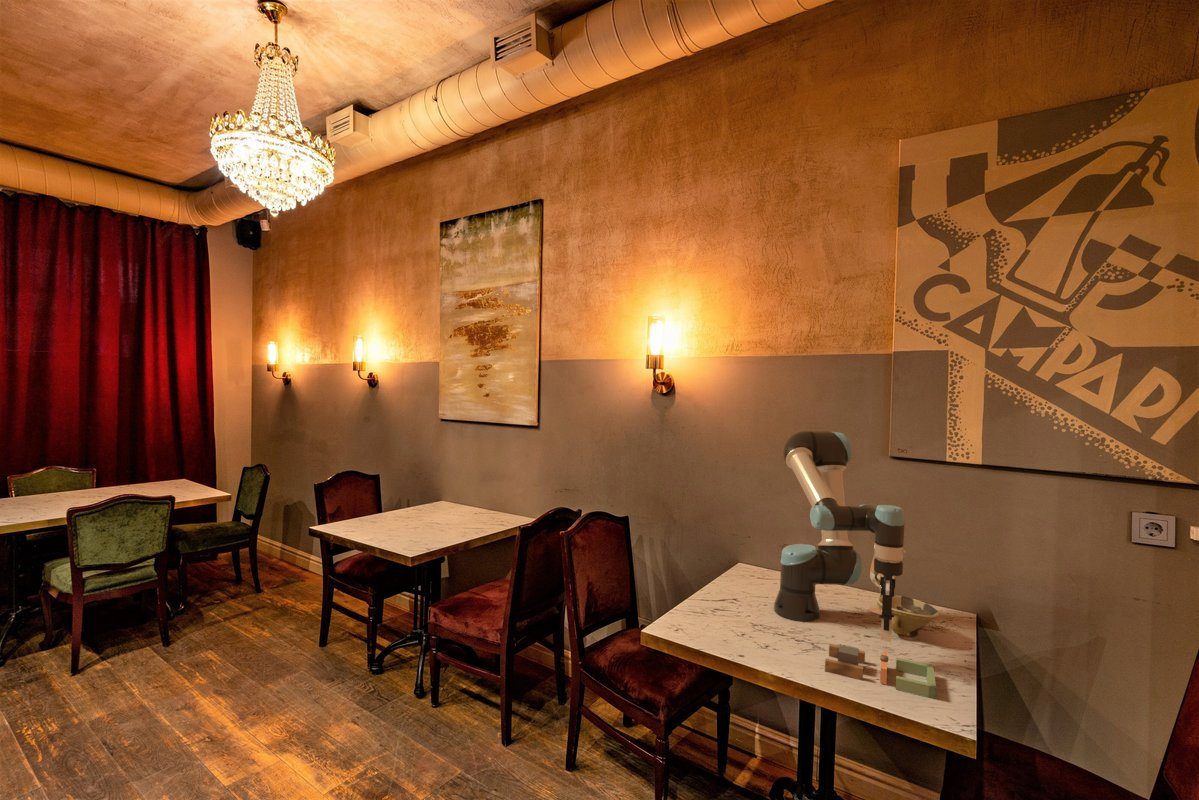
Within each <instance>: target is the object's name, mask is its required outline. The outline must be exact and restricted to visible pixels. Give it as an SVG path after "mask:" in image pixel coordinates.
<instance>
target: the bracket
mask: <svg viewBox="0 0 1199 800" xmlns="http://www.w3.org/2000/svg"><path fill="white" fill-rule="evenodd" d="M934 669H935V668H934V665H932V664H927V663H924V662H919V661H915V660H914V661H913V660H910V659H904V658H900V657H896V660H895V671H898V672H902V673H906V674H912V675H915V676H919V677H924V678H926V681H925V682H924V681H921V680H917V679H913V678H912V679H911V678H908V677H903V676H898V675H896V677H895V678H896V679H895V691H896V690H897V691H901V692H905V693H909V694H912V695H917V696H922V697H925V698H929V699H933V700H937V685H936V683H937V682H936V676H935V675H936V674H935V670H934Z"/></svg>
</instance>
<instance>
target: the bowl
mask: <svg viewBox="0 0 1199 800" xmlns="http://www.w3.org/2000/svg"><path fill="white" fill-rule="evenodd" d="M882 600H883V596H881V597H880V596H878V597H877V598H876V599H875V601H876V605H877V607H880V608H881V609H882ZM892 614H893V615H894V617H892V632H894V633H895V635H901V636H905V637H906V636H907V637H911V638H913V637H917V636H918V635H919V631H921V630H922V629H923V628H925V627H926V626H927V625H928V624H929V623H930V622H932V621H935V620H937V619H938V618H939V617H940V615H941V614H940V611H938V610H937V609H936V608H935V607H933V606H932V605H930V604H928V603H926V602H924V601H921V600H919V599H916V598H911V597H909V596H908V597H907V596H905V595H896V594H894V596H893V597H892Z"/></svg>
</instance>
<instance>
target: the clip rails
mask: <svg viewBox="0 0 1199 800" xmlns="http://www.w3.org/2000/svg"><path fill="white" fill-rule="evenodd" d="M828 645H829V646H828V657H831V658H836V659H838V651H839V646H840V645H835V644H831V643H829V644H828ZM836 659H830V658H825V659H824V661H825V662H824V672H826V673H831V674H836V675H839V676H843V677H846V678H847V677H848V678H852V679H856V680H860V681H863V679H864V677H863V676H864V666H861V665H858V666H857V665H853V664H848V663H844V662H840V661H838V660H836ZM865 660H866V651H864V650H859V660H858V664H862V665H865V663H866V662H865Z"/></svg>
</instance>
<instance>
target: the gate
mask: <svg viewBox="0 0 1199 800" xmlns="http://www.w3.org/2000/svg"><path fill="white" fill-rule="evenodd" d="M888 654H889V653H888V652H884V651H881V655H880V656H879V657H880V658H879V660H880V677H879V681H880V682H879V683H880V684H883V685H887V679H888V671H887V670H888V662H889V656H888Z"/></svg>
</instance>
